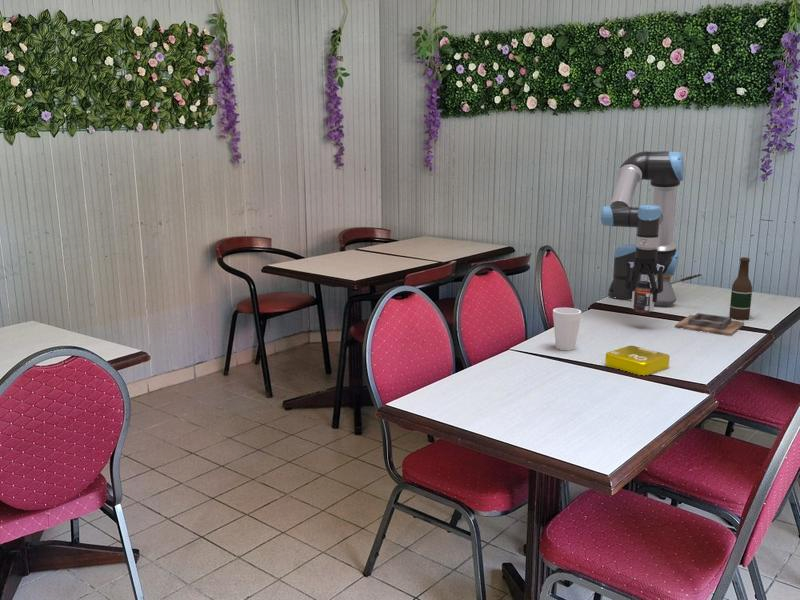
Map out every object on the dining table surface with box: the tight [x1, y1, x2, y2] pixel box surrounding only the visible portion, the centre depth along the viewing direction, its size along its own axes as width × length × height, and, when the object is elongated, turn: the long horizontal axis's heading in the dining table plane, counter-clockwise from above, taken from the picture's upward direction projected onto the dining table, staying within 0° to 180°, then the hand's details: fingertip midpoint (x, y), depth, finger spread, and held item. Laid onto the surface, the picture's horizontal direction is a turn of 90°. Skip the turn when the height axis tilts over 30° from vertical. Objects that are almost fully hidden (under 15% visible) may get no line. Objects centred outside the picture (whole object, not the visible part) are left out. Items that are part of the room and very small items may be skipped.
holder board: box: [674, 312, 745, 337], centre depth 283 cm, size 20×20×3 cm
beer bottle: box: [728, 257, 753, 321], centre depth 293 cm, size 8×8×24 cm
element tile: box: [604, 345, 670, 377], centre depth 236 cm, size 15×15×5 cm
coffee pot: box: [652, 273, 704, 307], centre depth 314 cm, size 21×12×15 cm, turn 54°
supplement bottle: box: [633, 280, 652, 314], centre depth 279 cm, size 6×6×11 cm
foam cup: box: [552, 307, 582, 351], centre depth 254 cm, size 10×9×13 cm
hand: (642, 309), depth 280 cm, fingers closed on supplement bottle, 6 cm apart
